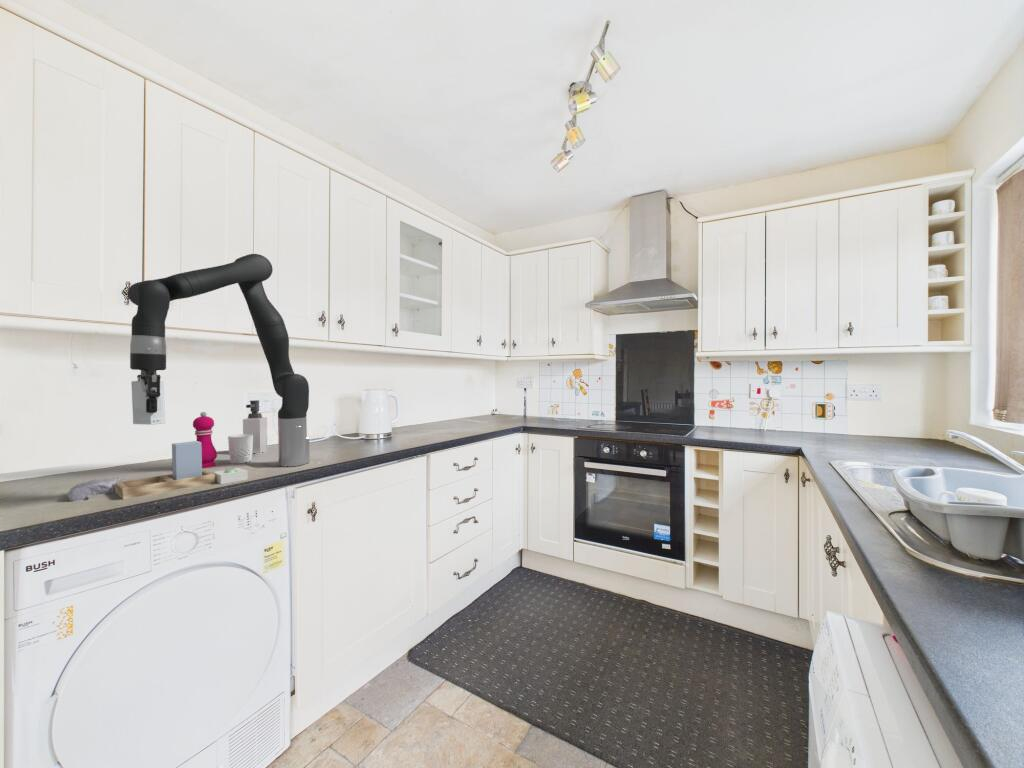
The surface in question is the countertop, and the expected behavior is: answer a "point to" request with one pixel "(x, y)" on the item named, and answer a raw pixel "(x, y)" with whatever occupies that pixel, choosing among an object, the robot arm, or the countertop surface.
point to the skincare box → (140, 406)
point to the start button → (229, 470)
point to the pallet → (160, 484)
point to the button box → (230, 476)
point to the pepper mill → (205, 439)
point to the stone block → (92, 488)
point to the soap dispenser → (256, 427)
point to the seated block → (186, 460)
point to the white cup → (240, 448)
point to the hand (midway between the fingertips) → (148, 411)
